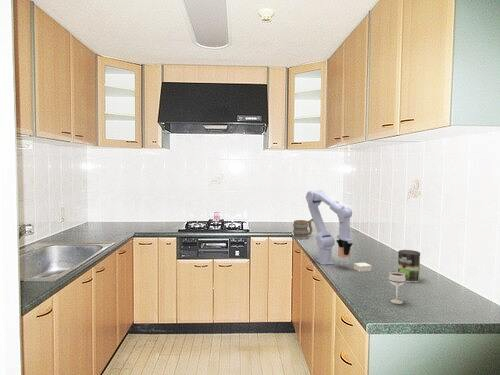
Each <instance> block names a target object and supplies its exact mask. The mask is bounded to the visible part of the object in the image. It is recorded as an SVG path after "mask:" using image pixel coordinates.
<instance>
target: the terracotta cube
mask: <svg viewBox="0 0 500 375" xmlns="http://www.w3.org/2000/svg"><path fill="white" fill-rule="evenodd" d="M337 250H338V252H337V256H338V257H340V258H342V259H344V258H351V248H350V251H349V254H348V255H344V248H343V247H339V246H338V249H337Z"/></svg>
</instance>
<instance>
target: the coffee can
mask: <svg viewBox="0 0 500 375" xmlns="http://www.w3.org/2000/svg"><path fill="white" fill-rule="evenodd" d="M397 252H398V261H397V262H398V263H397V266H398V268H397V272H403V273H405V274H406V275H405V278H406V281H405V283H412V284H414V283H419V282H420V275H421V274H420V271H421V270H420V268H421V267H420V266H421V252H420V251H417V250H413V249H400V250H398V251H397Z"/></svg>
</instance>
